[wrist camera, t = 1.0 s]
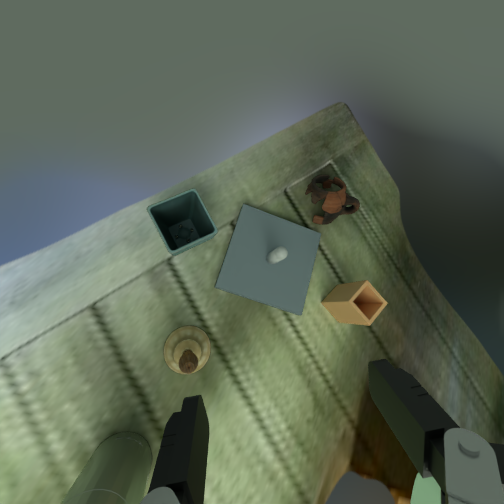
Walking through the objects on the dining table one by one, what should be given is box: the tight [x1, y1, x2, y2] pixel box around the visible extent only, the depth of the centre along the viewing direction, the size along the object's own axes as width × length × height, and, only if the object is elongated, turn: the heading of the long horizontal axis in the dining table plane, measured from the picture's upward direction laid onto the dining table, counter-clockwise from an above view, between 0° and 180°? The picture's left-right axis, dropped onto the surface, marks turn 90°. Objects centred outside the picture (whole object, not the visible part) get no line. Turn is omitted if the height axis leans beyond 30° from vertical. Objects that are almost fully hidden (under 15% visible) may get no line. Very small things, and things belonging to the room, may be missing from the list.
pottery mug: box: [305, 175, 360, 224], centre depth 58 cm, size 12×10×8 cm
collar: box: [321, 280, 387, 325], centre depth 51 cm, size 6×6×10 cm
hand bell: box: [164, 326, 211, 374], centre depth 40 cm, size 8×8×16 cm
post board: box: [215, 204, 321, 315], centre depth 50 cm, size 18×18×8 cm
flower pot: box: [147, 188, 218, 256], centre depth 47 cm, size 9×9×9 cm
